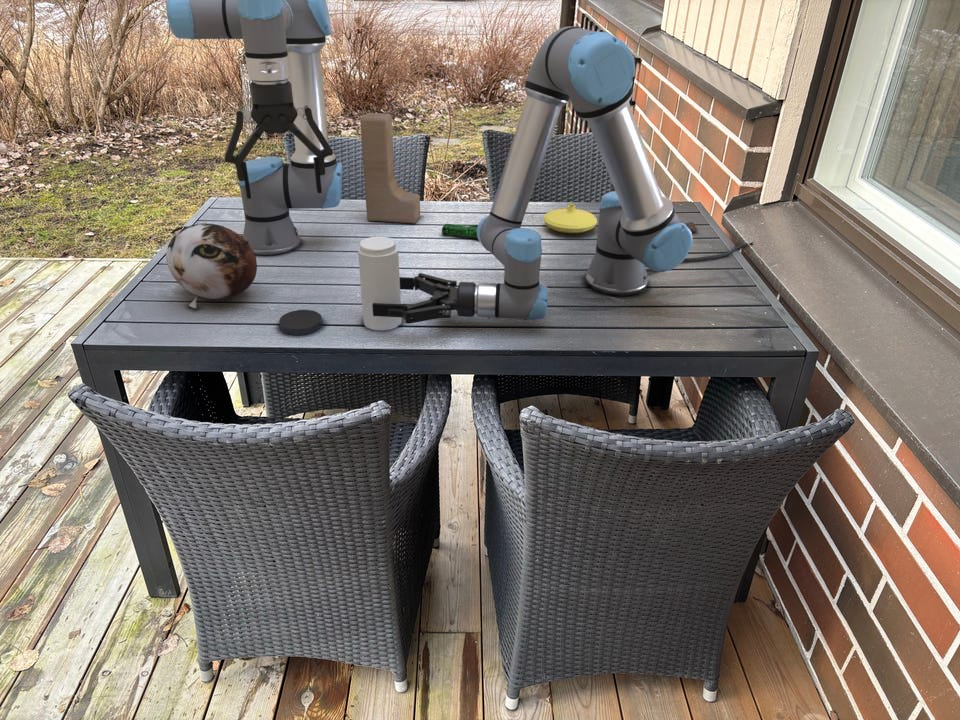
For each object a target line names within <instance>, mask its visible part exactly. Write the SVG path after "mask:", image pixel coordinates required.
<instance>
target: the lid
mask: <svg viewBox="0 0 960 720" xmlns="http://www.w3.org/2000/svg"><path fill="white" fill-rule="evenodd" d="M323 324H324V323H323V317H322V315H321V313H320V312H318V311H315V310H311V309H296V310H293V311H289V312H286V313H284V314H283V315H282V316H281V317H280V318H279V320H278V326H279V329H280V331H281V332H282V333H283V334H286V335H290V336H306V335H310V334H313V333H315V332H317V331H319V330H320V329H321V328H322V326H323Z"/></svg>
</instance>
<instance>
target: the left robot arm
mask: <svg viewBox="0 0 960 720" xmlns="http://www.w3.org/2000/svg"><path fill="white" fill-rule="evenodd" d="M165 11H166V18H167V23H168V27H169V29H170V31H171V33H172V35H173V36H174V37H175V38H177V39H181V40H183V39H184V40H191V41H194V40H242V41H243V48H244V56H245V58H244V59H245V64H246V69H247V70H246V71H247V72H246V73H247V78H248V80H250V81H251V82H250V84H249V85H248V86H249V92H250V99H251V110H244V109H242V108H237V109H236V110H235V123H234V127H233V129H232V132H231V135H230V138H229V141H228V144H227V147H226V150H225V153H224V161H225V162H226V163H231V164H234V166H235V169H236V176H237V180H238V186H239V190H240V196H241V201H242V208H243V212H244V213H243V215H244V219H245V220H244V226H243V228H244V229H243V235H240V236H241V237H243V238H244V239H245V240H246V241H249V242H248V244H249V245H250V247H251V248H252V250H253V252H254V254H255V256H256V255H257V256H275V255H281V254H282V255H283V254H285V253H289V252H291V251H293V250H296V249H297V248H298V247H299V246H300V244H301V241H300V235H299V233H298V229H297V228H296V226H295V225H294V223H293V220H292V218H291V216H290V210H300V209H301V210H303V209H321V210H324V209H333V208H337V207H338V206H339V205H340V203H341V198H342V187H343V163H341V162H340V161H339V162H337V156H336V154H335V153H334V152H333V149H332V147H331V146H330V143H329V130H328V119H327V110H326V109H327V108H326V97H325V87H324V86H325V85H324V77H323V64H322V55H321V52H322V50H323V48H324V47H325V46H326V45H327V39H326V37H328V36H330V35H332V25H331V17H330V12H329V7H328V2H327V0H166V3H165ZM250 118H251V119H252V120H253V121H254V122H255V123H256V125H255V127H253V130H252V131H251V133H250V134H249V136H248V137H247V139H246V140H245V142H244V143H243V145H242V146H241V148H240V149H239V151H238V152H237V154H236V155H235V154H234V153H235V151H236V148H237V145H238V142H239V139H240V136H241V134H242V130H243V127H244V124H245V123H246V124H247V123H248V120H249V119H250ZM287 132H291V133H292V134H293V140H294V149H295V151H294V153H293V154H292V155H291V156H290V163H284V162H285V161H284V160H283V158H282V157H279V156H264V157H258V158H254V159H251V160H248V161H245V159H246V157H247V156H248V155H249V154H250V153H251V151H252V149H253V147H254V146H255V145H256V144H257V142H258V140H259V139H260V138H261V137H262V135H263V134H264V133H266V134H268V135H273V134H286V133H287ZM183 227H184V228H186V227H188V226H187V225H186V226H178V227H176V228H174V229H173V230H171V232H170V234H176V233H177V232H179V231H180V230H182V228H183ZM184 228H183V229H184Z"/></svg>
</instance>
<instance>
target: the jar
mask: <svg viewBox="0 0 960 720" xmlns="http://www.w3.org/2000/svg"><path fill="white" fill-rule="evenodd" d="M396 243H397V242H396V240H394V238H392V237H388V236H371V237H366V238H363V239H362V240H361V241H360V242H359V246H358V249H357V257H358V266H359V267H358V268H359V269H358V270H359V280H360V281H359V283H360V294H361V295H360V296H361V307H362V320H363V325H364V326H365V327H366V328H367V329H370V330H373V331H388V330H392V329H395V328H398V327H399V326H400V325H401V324H402V321H403V319H402V317H383V316H373V307H372V304H373V303H385V304H402V300H401V299H402V298H401V289H400V277H401V276H400V259H399V246H397V245H396Z"/></svg>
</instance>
